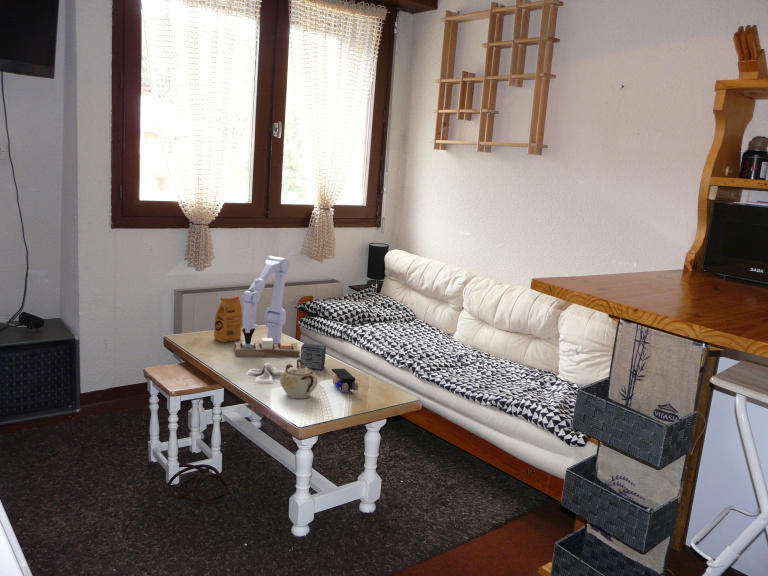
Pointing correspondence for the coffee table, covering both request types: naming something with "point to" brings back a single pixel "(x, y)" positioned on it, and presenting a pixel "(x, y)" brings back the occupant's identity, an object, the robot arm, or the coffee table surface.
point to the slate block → (247, 345)
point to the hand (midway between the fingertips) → (247, 343)
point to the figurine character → (344, 380)
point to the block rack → (266, 350)
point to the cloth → (265, 374)
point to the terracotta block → (285, 346)
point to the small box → (313, 356)
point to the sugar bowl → (298, 381)
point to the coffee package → (228, 320)
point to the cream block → (267, 343)
